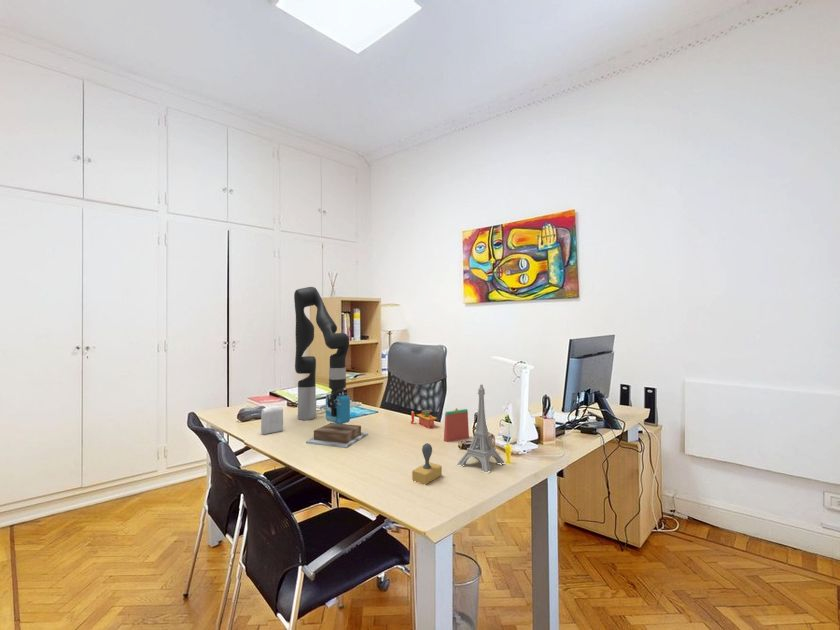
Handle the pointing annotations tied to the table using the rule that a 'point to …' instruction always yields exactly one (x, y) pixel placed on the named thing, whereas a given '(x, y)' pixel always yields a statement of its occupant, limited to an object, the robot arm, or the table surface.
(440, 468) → the rubber stamp
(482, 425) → the eiffel tower
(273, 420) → the photo printer
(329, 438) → the base
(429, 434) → the table surface
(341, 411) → the data package
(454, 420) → the toy building block set
